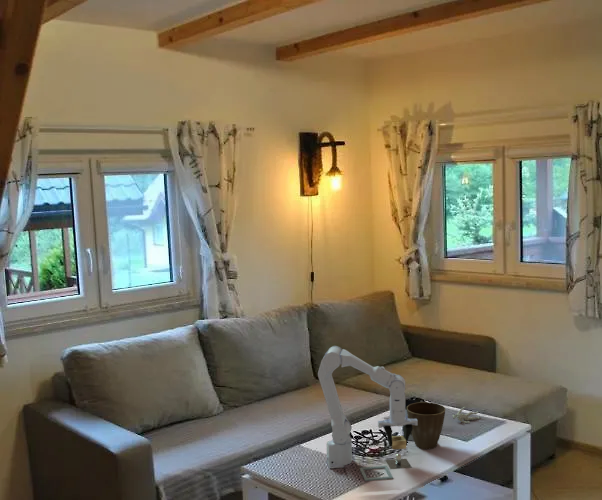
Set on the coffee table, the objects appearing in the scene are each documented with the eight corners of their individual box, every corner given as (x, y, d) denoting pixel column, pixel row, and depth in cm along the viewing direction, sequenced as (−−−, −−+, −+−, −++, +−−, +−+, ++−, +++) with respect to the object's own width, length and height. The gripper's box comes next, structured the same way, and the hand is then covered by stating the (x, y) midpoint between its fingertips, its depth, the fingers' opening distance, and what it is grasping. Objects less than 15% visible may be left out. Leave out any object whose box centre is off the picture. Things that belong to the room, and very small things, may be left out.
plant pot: (431, 437, 289) (431, 399, 287) (453, 450, 275) (453, 410, 273) (400, 444, 283) (399, 405, 281) (420, 457, 269) (420, 417, 268)
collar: (392, 449, 259) (392, 441, 259) (389, 444, 264) (389, 436, 263) (406, 448, 259) (406, 440, 259) (402, 443, 264) (402, 435, 264)
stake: (390, 471, 258) (390, 459, 258) (385, 462, 266) (385, 451, 266) (411, 470, 259) (411, 458, 259) (406, 461, 267) (406, 449, 267)
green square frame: (365, 483, 249) (365, 479, 249) (359, 471, 259) (359, 467, 259) (393, 481, 250) (393, 477, 250) (386, 469, 260) (386, 465, 260)
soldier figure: (482, 424, 305) (461, 420, 300) (474, 429, 308) (454, 425, 303) (477, 407, 310) (456, 403, 305) (469, 412, 313) (449, 409, 308)
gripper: (380, 414, 255) (381, 450, 257) (419, 411, 257) (420, 447, 258) (376, 407, 262) (376, 442, 264) (414, 405, 264) (414, 440, 265)
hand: (397, 444), depth 262 cm, fingers closed on collar, 5 cm apart
